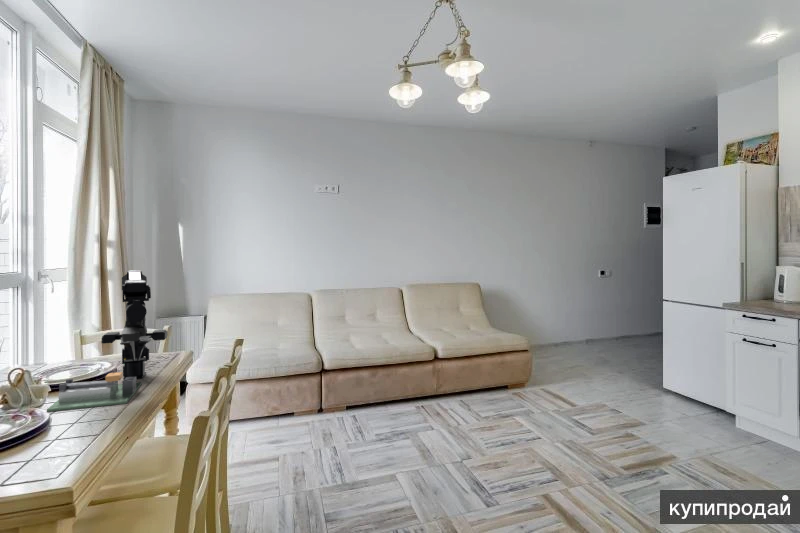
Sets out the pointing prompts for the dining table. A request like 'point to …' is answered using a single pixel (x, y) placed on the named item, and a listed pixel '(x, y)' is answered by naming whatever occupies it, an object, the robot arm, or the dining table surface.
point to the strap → (90, 384)
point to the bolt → (114, 376)
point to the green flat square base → (94, 395)
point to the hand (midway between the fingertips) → (136, 360)
